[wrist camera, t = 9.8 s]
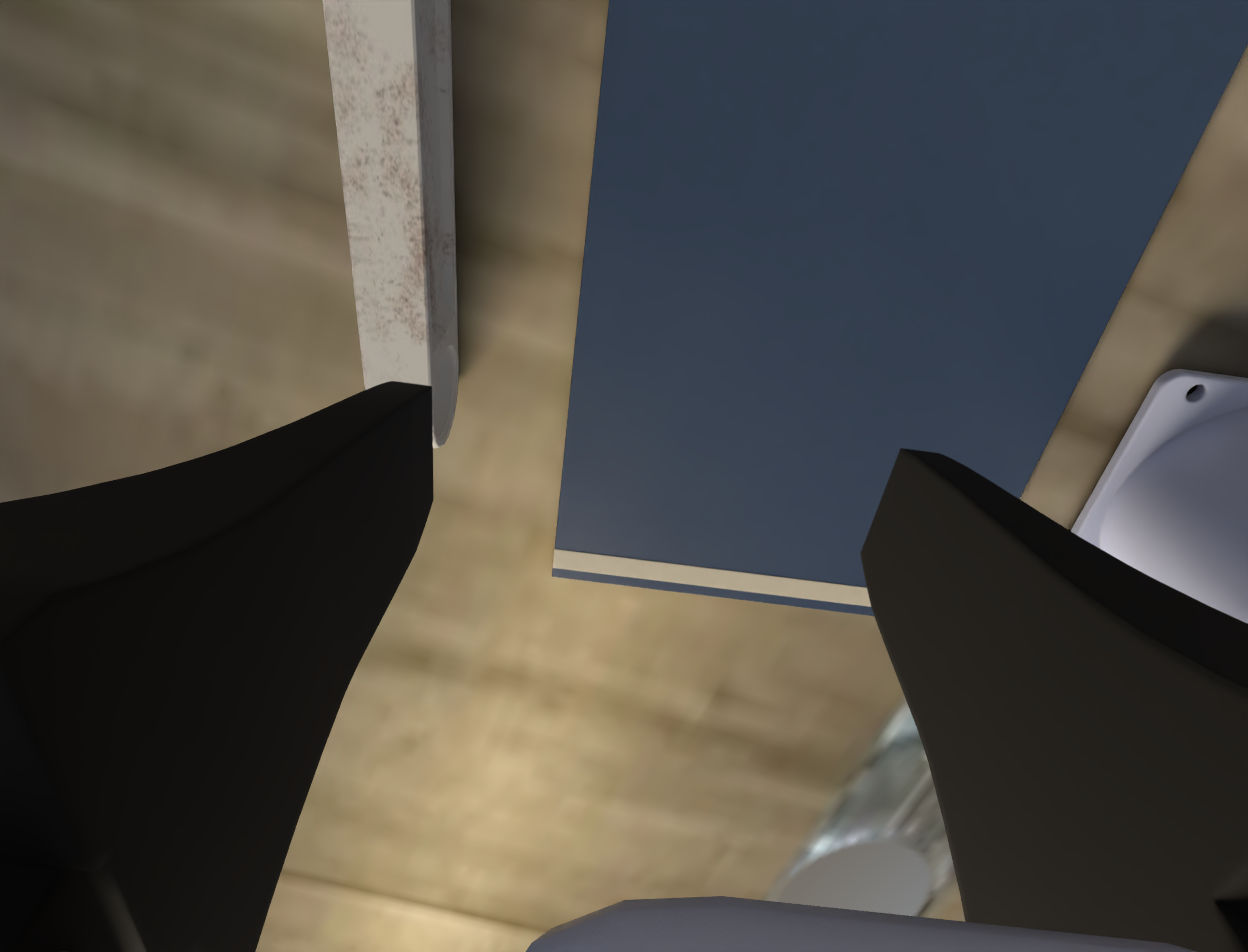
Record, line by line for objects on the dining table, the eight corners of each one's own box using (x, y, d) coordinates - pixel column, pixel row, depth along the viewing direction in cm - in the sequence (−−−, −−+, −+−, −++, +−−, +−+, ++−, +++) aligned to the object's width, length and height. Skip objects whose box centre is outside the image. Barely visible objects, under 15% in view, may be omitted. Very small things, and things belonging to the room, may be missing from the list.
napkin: (2205, -1888, 7) (2249, -1942, 7) (953, 622, 25) (955, 626, 25) (836, -2279, 7) (842, -2347, 6) (552, 573, 24) (551, 577, 24)
